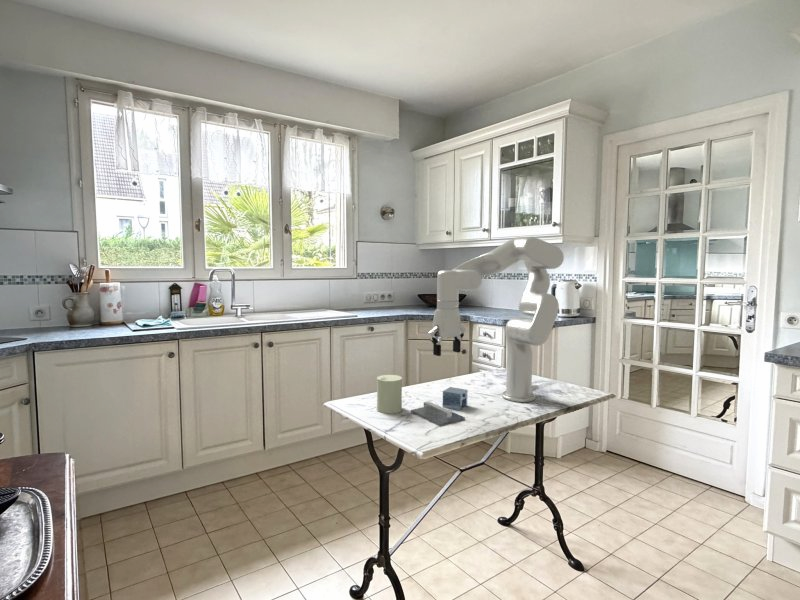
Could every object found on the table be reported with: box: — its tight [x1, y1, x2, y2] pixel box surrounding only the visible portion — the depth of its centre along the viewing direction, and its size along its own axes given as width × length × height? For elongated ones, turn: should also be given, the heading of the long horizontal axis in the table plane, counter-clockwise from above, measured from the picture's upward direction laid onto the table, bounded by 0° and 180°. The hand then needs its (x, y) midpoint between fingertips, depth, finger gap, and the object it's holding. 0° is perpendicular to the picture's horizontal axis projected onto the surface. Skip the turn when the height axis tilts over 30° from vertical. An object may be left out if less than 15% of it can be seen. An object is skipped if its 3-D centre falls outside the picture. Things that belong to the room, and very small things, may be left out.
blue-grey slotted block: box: [442, 386, 469, 411], centre depth 165 cm, size 6×7×6 cm
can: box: [376, 374, 403, 414], centre depth 162 cm, size 9×9×12 cm
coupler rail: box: [410, 401, 466, 427], centre depth 155 cm, size 11×16×3 cm
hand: (447, 353), depth 159 cm, fingers open, 9 cm apart
